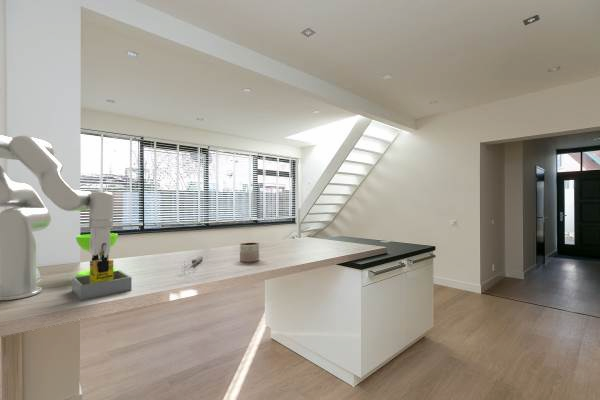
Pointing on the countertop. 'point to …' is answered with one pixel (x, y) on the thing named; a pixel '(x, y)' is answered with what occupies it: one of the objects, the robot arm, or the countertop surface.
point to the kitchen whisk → (194, 262)
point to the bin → (100, 286)
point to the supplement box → (101, 276)
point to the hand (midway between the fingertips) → (99, 269)
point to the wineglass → (84, 244)
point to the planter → (249, 252)
